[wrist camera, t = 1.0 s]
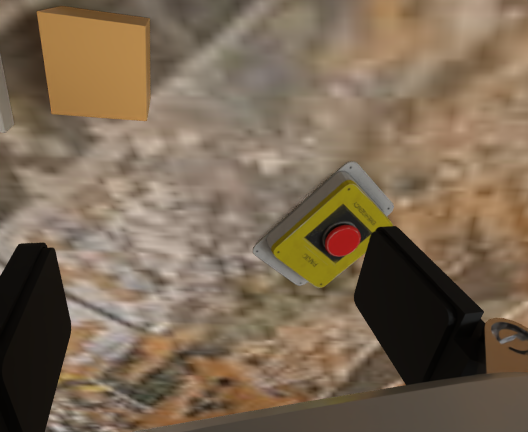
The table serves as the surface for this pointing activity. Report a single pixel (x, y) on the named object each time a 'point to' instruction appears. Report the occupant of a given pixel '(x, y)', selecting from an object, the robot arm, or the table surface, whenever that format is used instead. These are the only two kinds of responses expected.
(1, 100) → the board
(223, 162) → the table surface
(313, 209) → the emergency button
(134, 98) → the tan wooden cube
